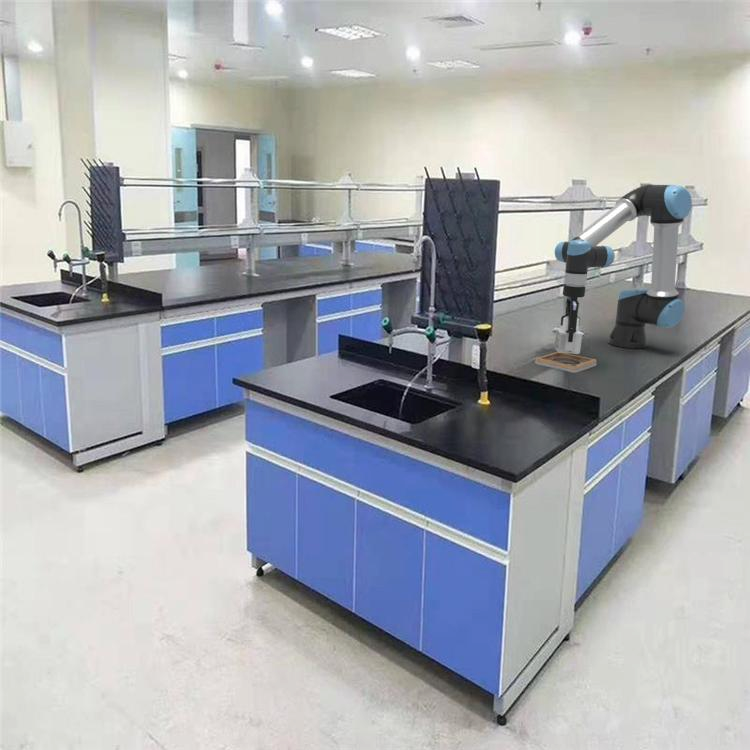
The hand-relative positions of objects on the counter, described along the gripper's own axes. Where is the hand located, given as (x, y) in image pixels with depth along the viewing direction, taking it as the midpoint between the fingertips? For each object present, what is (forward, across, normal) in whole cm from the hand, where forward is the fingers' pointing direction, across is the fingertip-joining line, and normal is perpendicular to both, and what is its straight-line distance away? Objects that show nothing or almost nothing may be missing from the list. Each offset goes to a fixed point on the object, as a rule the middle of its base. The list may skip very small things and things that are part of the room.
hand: (567, 347), depth 253 cm
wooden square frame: (+6, 0, 0) cm, 6 cm away
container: (+2, 0, 0) cm, 2 cm away
